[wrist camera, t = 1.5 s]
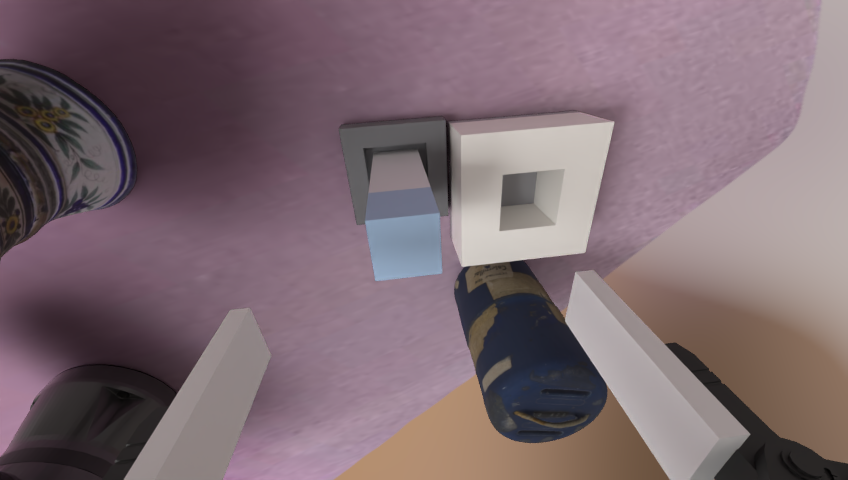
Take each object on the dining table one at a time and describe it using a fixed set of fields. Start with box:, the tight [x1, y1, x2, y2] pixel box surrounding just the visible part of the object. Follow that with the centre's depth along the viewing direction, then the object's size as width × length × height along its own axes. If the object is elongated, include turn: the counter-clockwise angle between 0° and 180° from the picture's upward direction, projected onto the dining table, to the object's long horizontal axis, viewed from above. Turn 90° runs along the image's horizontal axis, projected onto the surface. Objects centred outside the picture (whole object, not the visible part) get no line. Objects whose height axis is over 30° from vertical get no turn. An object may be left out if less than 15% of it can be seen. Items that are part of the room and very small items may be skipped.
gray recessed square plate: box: [339, 116, 448, 225], centre depth 30 cm, size 9×9×2 cm
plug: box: [365, 149, 442, 281], centre depth 24 cm, size 4×4×14 cm
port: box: [448, 111, 614, 267], centre depth 30 cm, size 12×12×6 cm
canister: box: [454, 260, 607, 443], centre depth 31 cm, size 10×10×18 cm
